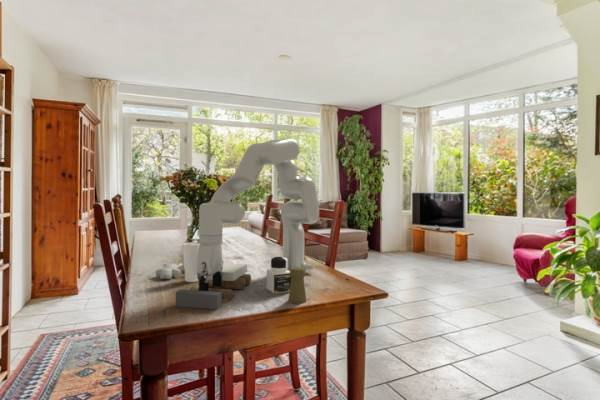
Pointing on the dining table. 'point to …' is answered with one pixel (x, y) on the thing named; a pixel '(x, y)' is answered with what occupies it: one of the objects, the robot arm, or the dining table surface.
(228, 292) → the roller
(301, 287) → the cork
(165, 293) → the dining table surface
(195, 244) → the white cup
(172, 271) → the bunny figurine
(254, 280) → the dining table surface
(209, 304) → the grey rectangular bar
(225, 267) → the slab
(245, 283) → the track
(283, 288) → the medicine bottle
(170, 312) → the dining table surface
